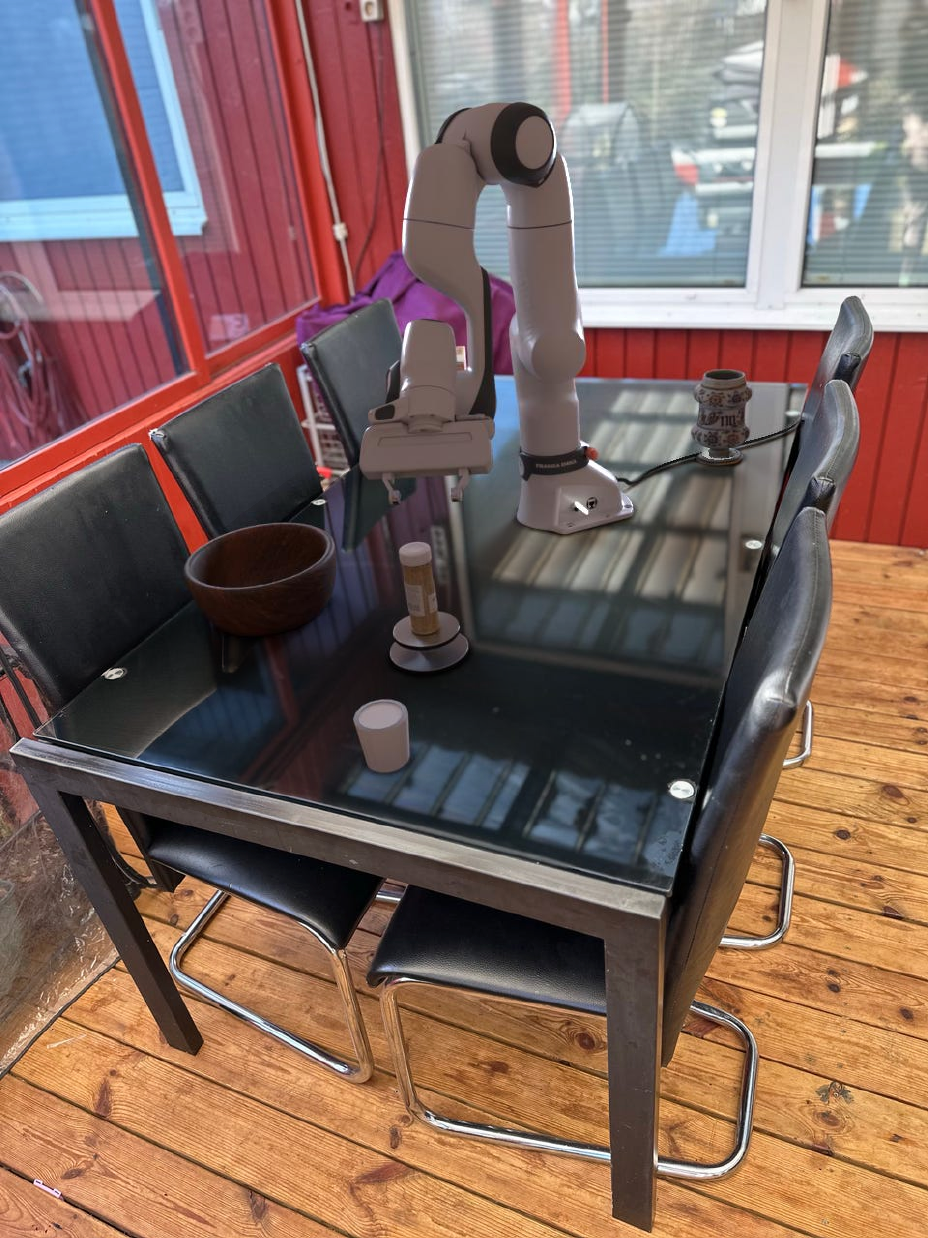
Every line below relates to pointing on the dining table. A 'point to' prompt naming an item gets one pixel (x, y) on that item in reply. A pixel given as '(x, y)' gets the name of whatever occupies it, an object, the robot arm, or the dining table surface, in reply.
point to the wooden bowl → (263, 577)
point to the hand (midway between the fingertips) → (425, 502)
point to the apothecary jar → (721, 415)
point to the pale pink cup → (383, 734)
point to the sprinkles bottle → (419, 587)
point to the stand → (428, 647)
